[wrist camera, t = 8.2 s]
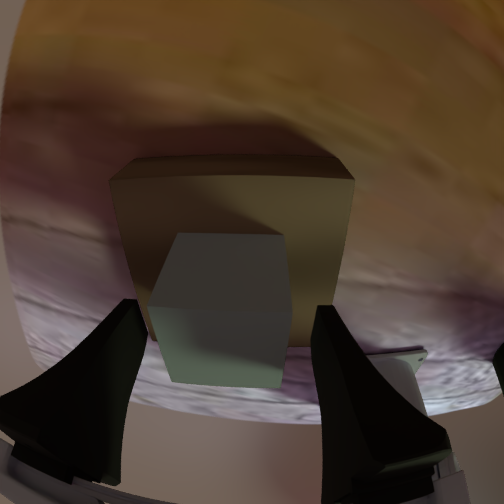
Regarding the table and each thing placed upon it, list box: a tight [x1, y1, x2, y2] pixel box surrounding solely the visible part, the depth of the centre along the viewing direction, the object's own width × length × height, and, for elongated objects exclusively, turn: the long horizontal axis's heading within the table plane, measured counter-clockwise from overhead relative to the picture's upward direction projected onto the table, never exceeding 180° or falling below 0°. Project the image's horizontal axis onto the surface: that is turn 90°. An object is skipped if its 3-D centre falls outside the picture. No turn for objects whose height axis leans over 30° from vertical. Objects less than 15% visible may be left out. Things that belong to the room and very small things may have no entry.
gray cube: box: [147, 233, 293, 388], centre depth 12 cm, size 4×4×4 cm
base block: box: [109, 154, 355, 347], centre depth 15 cm, size 10×10×3 cm
